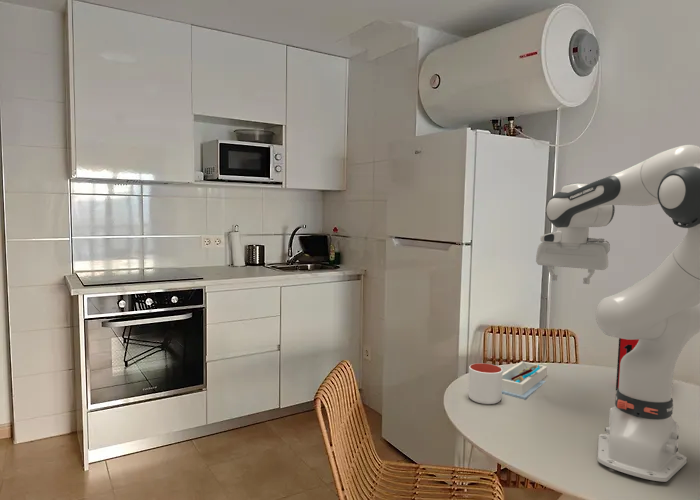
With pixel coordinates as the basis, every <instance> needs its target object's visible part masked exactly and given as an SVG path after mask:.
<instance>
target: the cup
mask: <svg viewBox="0 0 700 500" xmlns="http://www.w3.org/2000/svg"><path fill="white" fill-rule="evenodd" d="M503 373H504V372H503V368H502V367H500V366H498V365H495V364H491V363H479V362H478V363H477V362H476V363H473V364H470V365H469V367H468V387H467V389H468V390H467V395H468V397H469V399H470V400H471V401H473V402H475V403H478V404H483V405H495V404H497V403H500V401H501V399H502V397H503V396H502V395H503V394H502V374H503Z"/></svg>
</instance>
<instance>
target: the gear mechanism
mask: <svg viewBox="0 0 700 500" xmlns="http://www.w3.org/2000/svg"><path fill="white" fill-rule="evenodd" d="M522 362H523V363H524V362H525V361H524V360H522ZM535 364H536V365H534V366H532V367H530V368H527V366H526V364H525V363H524V365H525V367H526V368H527V369H526V370H525V369H524V370H523V371H521V372H520V373H519V375H517V376H514V377H513V378H511V379H512V380H513V381H514V382H518V383H520V382H522V381H524V379H525V378H528V377H529V376H531V375H532V374H534V373H535V372H536V371H538V370H539V369H540V368H539V367H540V366H539V365H540V364H538V365H537V363H535Z"/></svg>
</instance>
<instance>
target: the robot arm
mask: <svg viewBox="0 0 700 500" xmlns="http://www.w3.org/2000/svg"><path fill="white" fill-rule="evenodd" d="M654 205H659V206H660V207H661V209H662V211H663V212H664V213H665V214H666V216H668V217H669V218H671V220H672V223H673V224H674V225H676V226H677V227H679V228H682V229H687V232H686V235H685V236H684V237H683V238H682V240H681V241H680V242H679V243H678V244H677V246H676V247H674V249H673V250H672V251H671V252H670V253H669V254H668V255H667V257H665V259H664V260H663V261H662V262H661V263H660V264H659V265H658V266H657V268H655V269H654V270H653V271H652V272H649V274H648V275H646V276H645V277H643V278H642V279H640V280H638V281H637V282H635V283H633V284H632V285H630V286H629V287H627V288H625V289H623V290H621V291H619V292H616V293H615V294H612V295H611V294H610V295H609V296H606V297H603V298H602V299H601V300H600V301H599V302H598V304H597V307H596V309H595V320H596V324H597V327H599V329H600V331H601V332H602V333H603V334H605V335H606V336H608V337H612V338H617V339H619V338H621V339H627V340H635V339H639V341H638V343H637V345H636V346H635V347H634V349H633V350H631V351H630V352H629V353H627V354H626V355H624V356H623V358H622V359H621V362H620V375H619V388H618V389H617V391H616V392H615V397H614V398H615V402H614V404H615V405H614V406H612V407H611V408H609V416H608V417H609V418H608V426H605V427H604V432H605V433H600V434H598V439H597V462H598V463H600V464H601V465H603V466H605V467H608V468H610V469H613V470H615V471H616V472H617V471H618V472H621V473H624V474H627V475H630V476H633V477H636V478H641V479H644V480H650V481H653V482H655V481H656V482H662V483H663V482H668V481H669V480H670V479H671V478H673V476H674V475H675V474H676V473H678V472H679V470H680V469H682V468H683V467H684V466H685V465H686V464H687V462H688V461H687V459H688V458H687V456H686V455H684V454H682V453H680V452H679V437H680V435H679V433H680V430H679V429H680V425H679V423H677V422H676V420H675V419H674V418H673V416H672V415H673V410H674V400H673V398H672V390H673V382H674V381H673V379H674V374H675V373H674V371H675V368H676V364H677V361H678V359H679V357H680V355H681V353H682V351H683V349H684V348H685V347H686V345H687V343H688V342H689V341H690V340H691V339H692V338H693V337H694V336H695V335H697V334H698V333H700V146H698V145H695V144H683V145H679V146H676V147H672V148H670V149H667V150H664V151H660V152H658V153H657V154H656V153H655V154H654V155H653V156H651V157H648V158H647V159H645V160H643V161H641V162H638V163H637V164H634V165H633V166H632V165H631V166H630V167H628V168H626V169H624V170H621V171H619V172H616V173H613V174H611V175H609V176H606V177H603V178H601V179H599V180H598V179H597V180H595V181H592V182H591V183H588V184H587V183H584V182H574V183H569V184H565V185H564V186H562V188H561V190H560V191H558V192H555V193H554V194H553V195H552V196H551V197H550V198H549V200H548V201H547V203H546V207H545V215H546V218H547V219H548V220H549V222H550V223H551V224H552V225H553V226H554V227H555V228H556V231H552V232H549V233H546V234H542V235H541V236H540V243H539V244H538V247H537V250H536V256H535V257H536V258H535V262H536V264H537V265H538V266H546V267H547V271H548V273H549V275H550V281H552V282H557V281H558V274H555V271H554V269H555V267H558V268H559V267H560V268H570V269H571V268H573V269H581V270H582V269H583V270H585V269H586V270H587V273H588V275H587V277H583V281H582V283H583V284H584V285H590V283H591V278H592V277H593V275H594V274H595V273H596V271H595V270H597V271H604V270H605V271H606V269H608V267H609V255H608V254H609V252H610V249H611V245H610V242H609V241H608V240H606V239H605V238H595V237H589V232H590V228H602V227H606V226H608V225H609V224H610V223H611V222H612V220H613V219H614V217H615V211H616V210H615V209H616V208H615V206H632V207H633V206H636V207H646V206H647V207H648V206H654Z"/></svg>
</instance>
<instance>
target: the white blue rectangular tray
mask: <svg viewBox="0 0 700 500" xmlns="http://www.w3.org/2000/svg"><path fill="white" fill-rule="evenodd" d="M522 361H523V360H522ZM522 361H520V362H518V363H517V364H515V365H513V366H511V367H510V368H508V369H507V370H506V371H504V372H503V374H502V395H505V396H509V397H513V398H517V399H521V400H527V399H528V398H529V397H530V396H532V394H534V393H535V392H536V391H537V390H538V389H539V388H541V387H542V385H543V384H545V383H546V382H547V381H546V380H544V379H545V378H546V377H547V375H548V366H547V365H542V364H537V363H532V362H528V361H524V363H525V364H526V366H527V368H530V367H532V366H534V365H536V364H537V365H539V366H540V367H539V368H540V369H539V370H538V371H536V372H535V373H534V374H532V375H531V376H529V377H527V378H525V379H524V381H522V382H520V383H518V382H514V381H513V380H512V379H511V378H513V377H514V376H517V375H519V373H520V372H521V371H523V370H524V369H525V370H526V369H527V368H526V367H525V365H524V363H523V362H522Z"/></svg>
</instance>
